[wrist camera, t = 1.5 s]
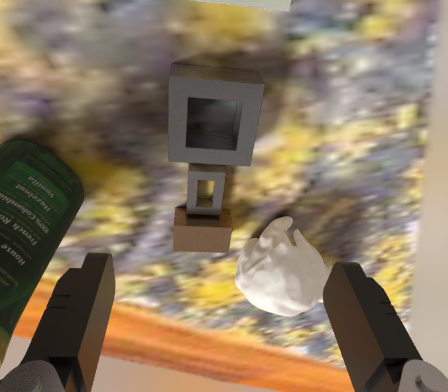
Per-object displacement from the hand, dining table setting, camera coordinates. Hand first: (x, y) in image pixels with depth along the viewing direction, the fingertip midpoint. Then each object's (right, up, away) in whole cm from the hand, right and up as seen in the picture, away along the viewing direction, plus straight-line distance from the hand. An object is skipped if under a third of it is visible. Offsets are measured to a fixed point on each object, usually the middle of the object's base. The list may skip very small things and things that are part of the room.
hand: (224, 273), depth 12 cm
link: (-1, +9, +13) cm, 16 cm away
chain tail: (-2, +2, +18) cm, 18 cm away
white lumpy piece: (+7, -2, +22) cm, 23 cm away
